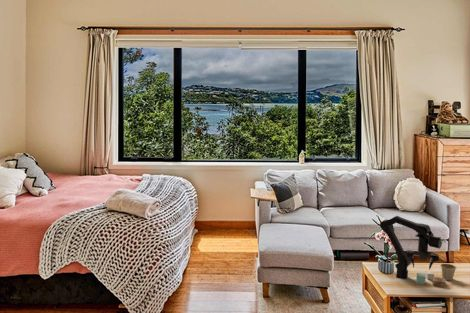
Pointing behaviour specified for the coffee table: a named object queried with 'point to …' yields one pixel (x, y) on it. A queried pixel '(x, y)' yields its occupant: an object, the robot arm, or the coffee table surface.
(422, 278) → the teal block
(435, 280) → the walnut base block
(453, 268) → the flower pot
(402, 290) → the coffee table surface
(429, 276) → the grey block
